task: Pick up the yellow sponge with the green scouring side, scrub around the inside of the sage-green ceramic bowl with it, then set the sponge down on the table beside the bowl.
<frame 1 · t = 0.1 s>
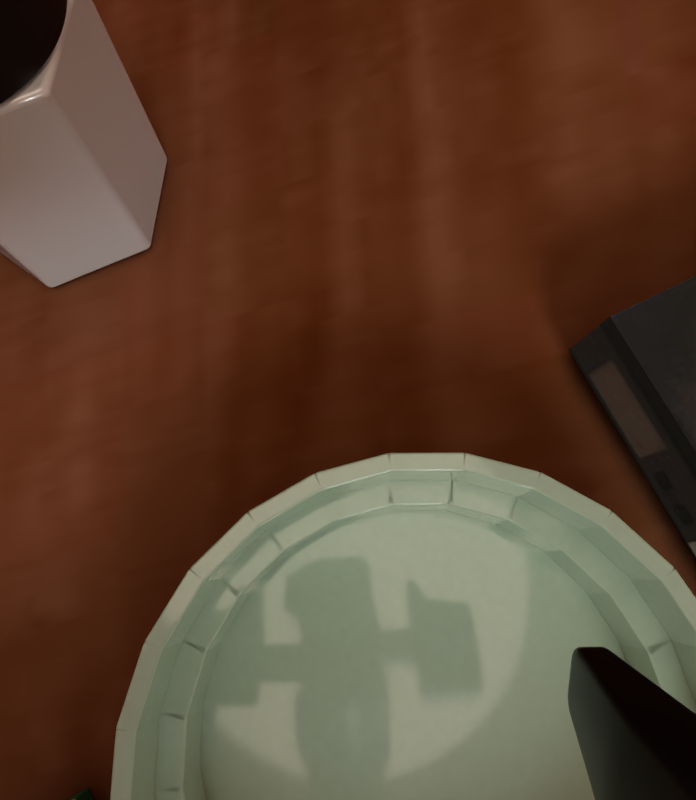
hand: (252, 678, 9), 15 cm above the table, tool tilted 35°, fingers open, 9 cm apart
jar: (76, 200, 28), on the table
bowl: (420, 729, 22), on the table
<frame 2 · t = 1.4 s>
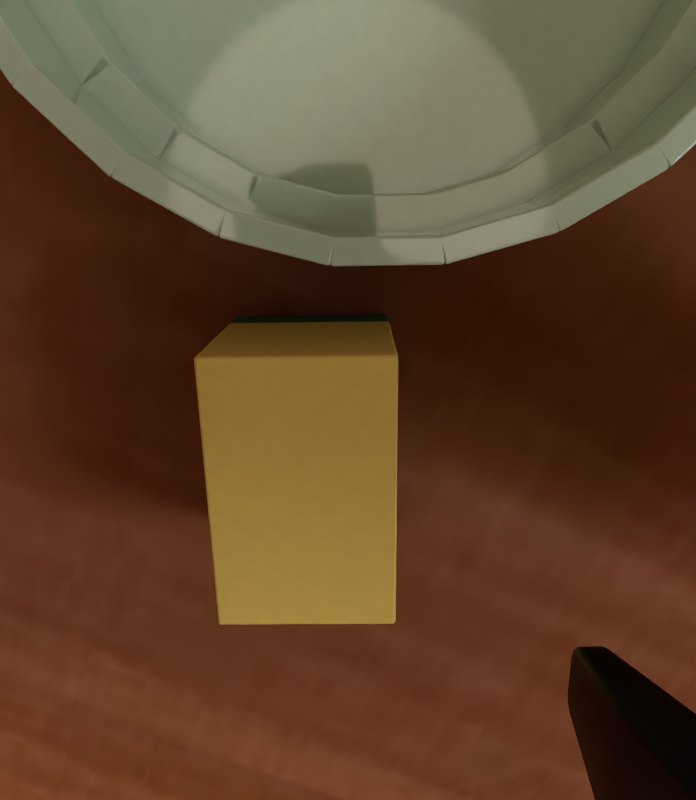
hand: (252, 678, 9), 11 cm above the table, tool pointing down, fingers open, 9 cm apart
sponge: (315, 426, 19), on the table
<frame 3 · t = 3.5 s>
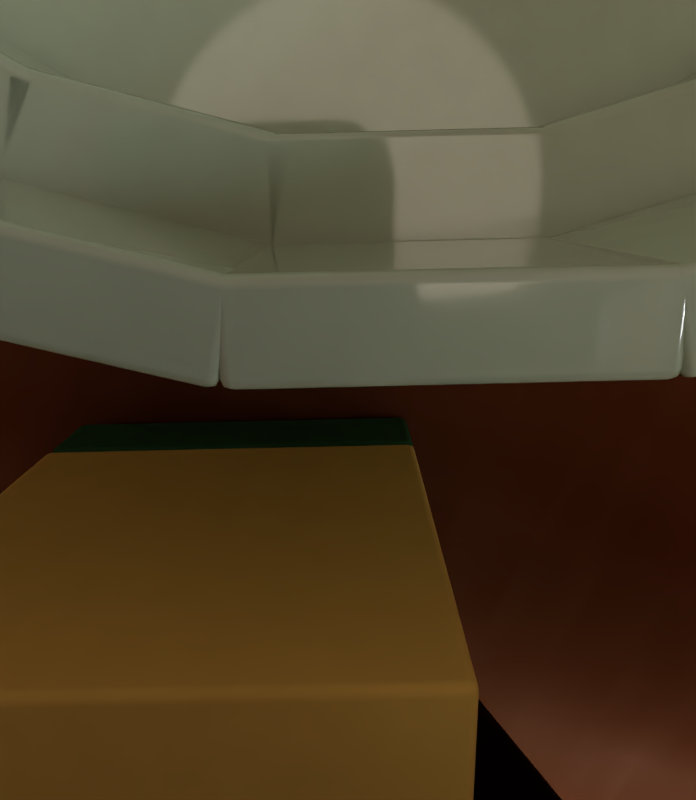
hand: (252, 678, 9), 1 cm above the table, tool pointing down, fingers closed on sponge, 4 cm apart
sponge: (260, 630, 10), on the table, touching gripper
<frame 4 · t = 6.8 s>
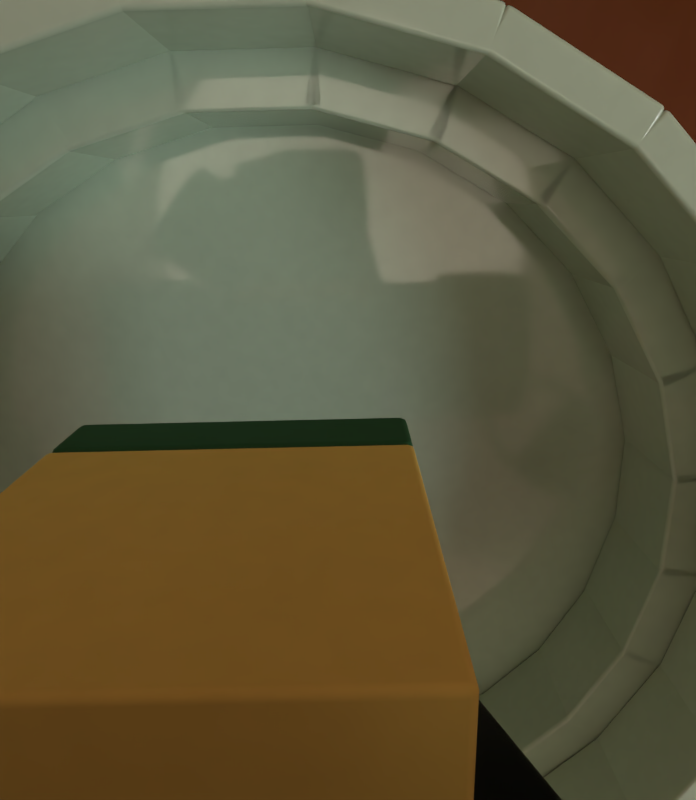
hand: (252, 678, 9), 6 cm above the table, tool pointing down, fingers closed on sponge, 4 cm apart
sponge: (260, 631, 10), point 5 cm above the table, touching gripper
bowl: (289, 476, 15), on the table
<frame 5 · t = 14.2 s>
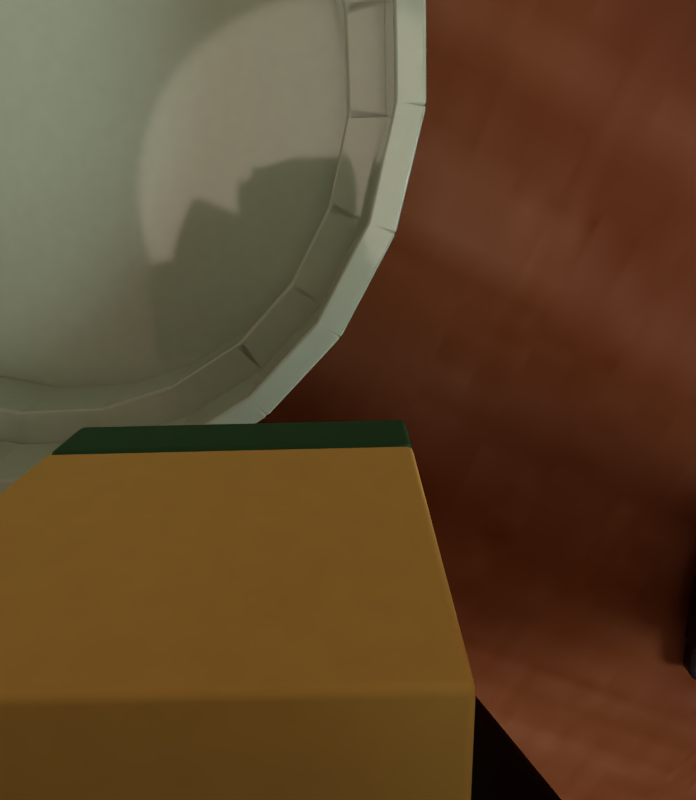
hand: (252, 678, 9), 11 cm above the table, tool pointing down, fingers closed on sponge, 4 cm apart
sponge: (259, 634, 10), point 10 cm above the table, touching gripper
bowl: (49, 97, 16), on the table
when the fingers open (1 cm above the table, at t = 17.4 s): sponge stays where it is, on the table.
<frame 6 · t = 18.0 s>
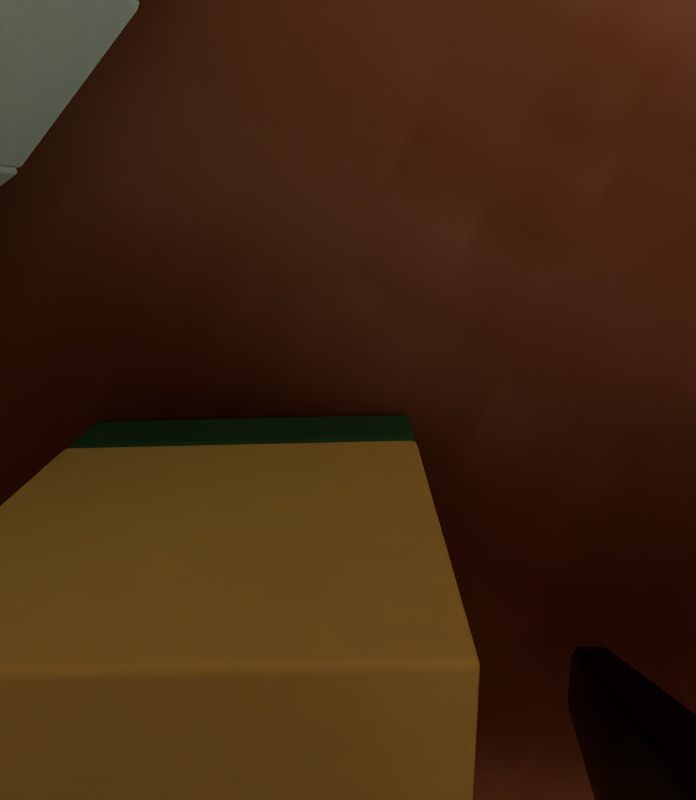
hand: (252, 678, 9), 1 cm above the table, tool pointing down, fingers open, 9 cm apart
sponge: (267, 621, 10), on the table
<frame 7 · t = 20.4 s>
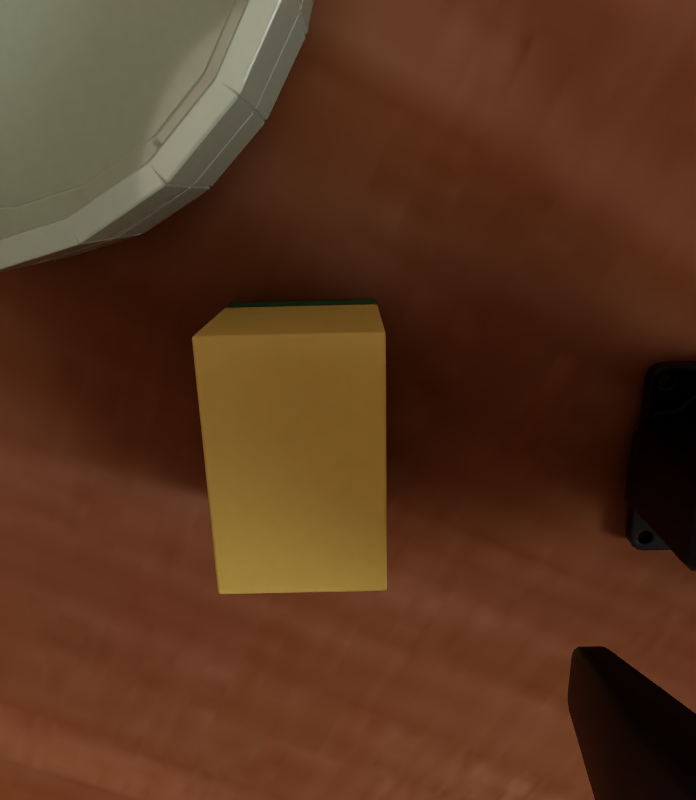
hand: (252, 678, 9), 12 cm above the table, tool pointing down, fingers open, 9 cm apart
sponge: (308, 408, 20), on the table
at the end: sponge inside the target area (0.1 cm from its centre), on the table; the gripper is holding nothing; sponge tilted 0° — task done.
